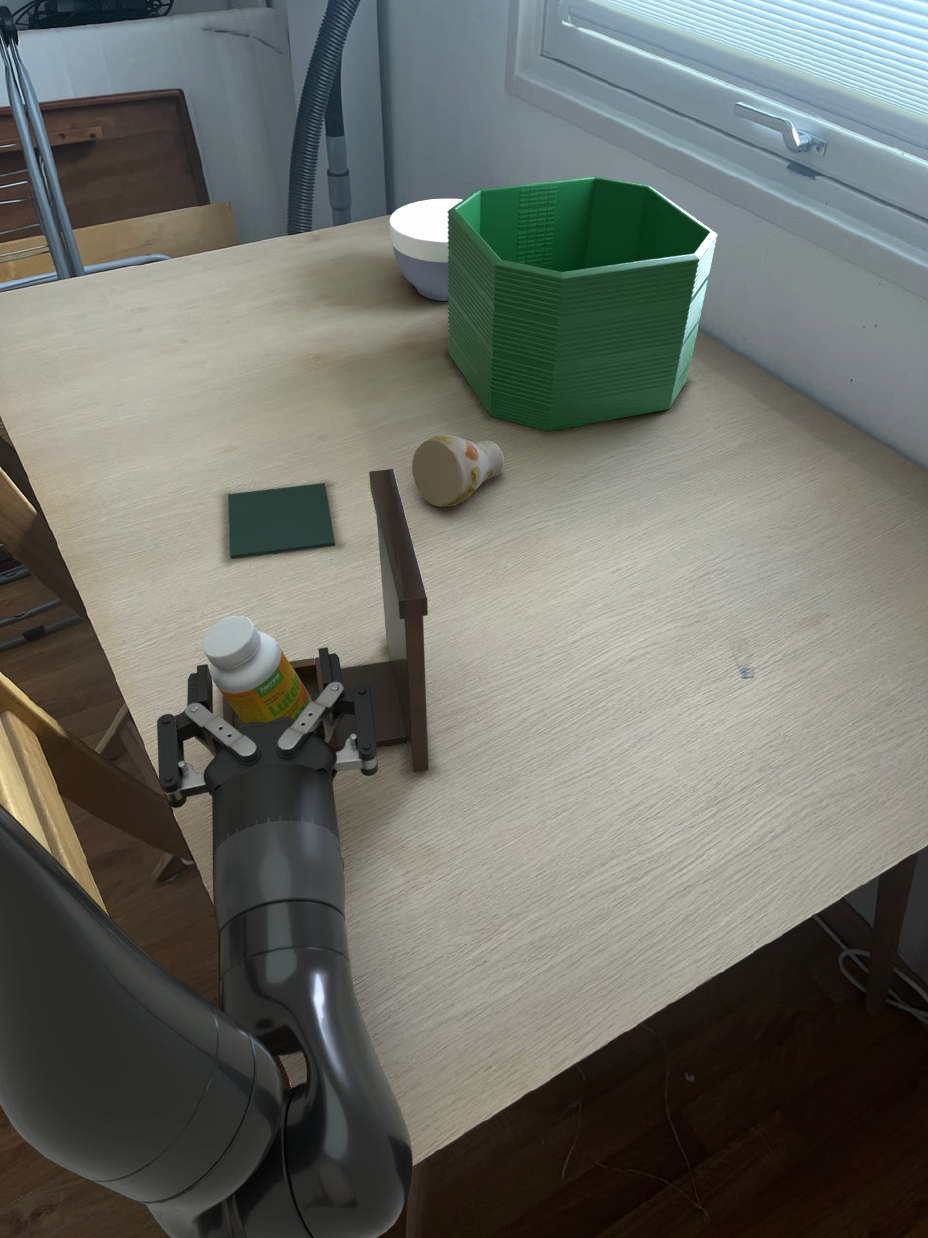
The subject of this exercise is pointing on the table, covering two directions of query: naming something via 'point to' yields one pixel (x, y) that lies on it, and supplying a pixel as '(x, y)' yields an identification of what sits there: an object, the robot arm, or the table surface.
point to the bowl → (423, 245)
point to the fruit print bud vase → (454, 468)
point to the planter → (575, 299)
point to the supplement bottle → (253, 672)
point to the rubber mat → (279, 520)
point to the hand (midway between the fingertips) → (264, 663)
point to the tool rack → (404, 607)
